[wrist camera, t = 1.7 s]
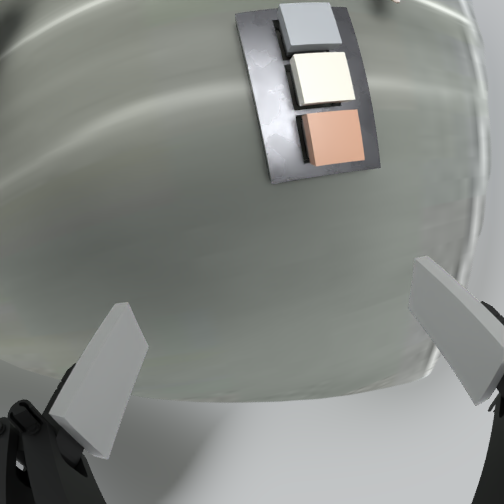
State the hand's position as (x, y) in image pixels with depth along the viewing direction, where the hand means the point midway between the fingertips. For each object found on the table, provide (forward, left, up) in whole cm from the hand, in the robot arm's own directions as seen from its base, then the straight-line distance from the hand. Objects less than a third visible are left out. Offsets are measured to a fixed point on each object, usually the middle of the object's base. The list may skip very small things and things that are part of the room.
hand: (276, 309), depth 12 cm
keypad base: (-11, +8, -21) cm, 25 cm away
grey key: (-17, +8, -19) cm, 26 cm away
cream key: (-11, +8, -19) cm, 23 cm away
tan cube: (-6, +8, -19) cm, 21 cm away
